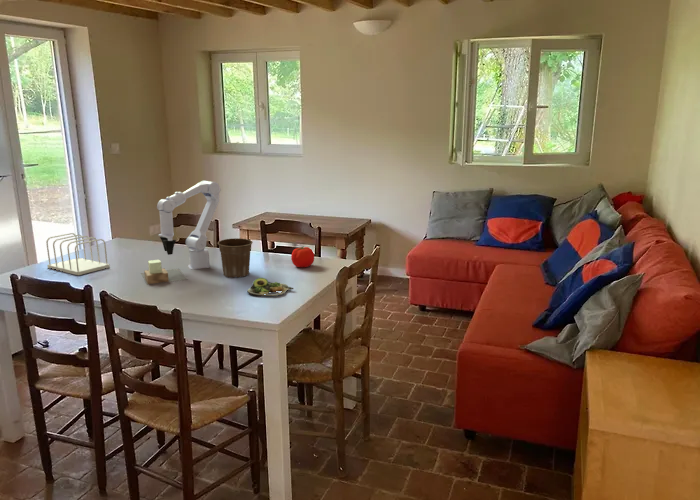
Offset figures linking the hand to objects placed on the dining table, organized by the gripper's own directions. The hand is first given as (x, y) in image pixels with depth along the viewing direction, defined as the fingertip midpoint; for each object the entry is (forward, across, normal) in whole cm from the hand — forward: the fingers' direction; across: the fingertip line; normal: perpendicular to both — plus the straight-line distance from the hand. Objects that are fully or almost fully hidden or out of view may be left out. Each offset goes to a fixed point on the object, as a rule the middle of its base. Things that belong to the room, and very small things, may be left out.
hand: (168, 252), depth 265 cm
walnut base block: (+10, +10, -8) cm, 16 cm away
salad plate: (+11, +46, +33) cm, 58 cm away
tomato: (+10, +17, +62) cm, 65 cm away
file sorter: (+11, -30, -39) cm, 50 cm away
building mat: (+10, +5, -4) cm, 12 cm away
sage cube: (+6, +10, -8) cm, 14 cm away
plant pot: (+10, +16, +28) cm, 34 cm away
